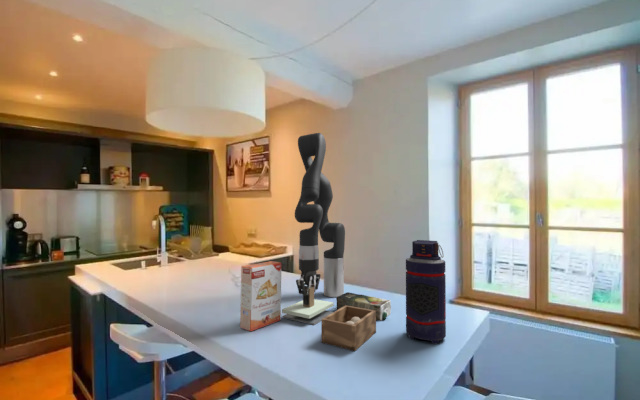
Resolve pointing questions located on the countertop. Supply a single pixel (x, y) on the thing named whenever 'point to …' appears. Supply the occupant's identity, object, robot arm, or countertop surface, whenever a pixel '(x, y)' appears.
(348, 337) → the egg box
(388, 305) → the juice carton
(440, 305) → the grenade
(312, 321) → the plate
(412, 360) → the countertop surface
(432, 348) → the countertop surface
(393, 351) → the countertop surface
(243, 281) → the cracker box
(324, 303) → the lid
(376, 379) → the countertop surface
